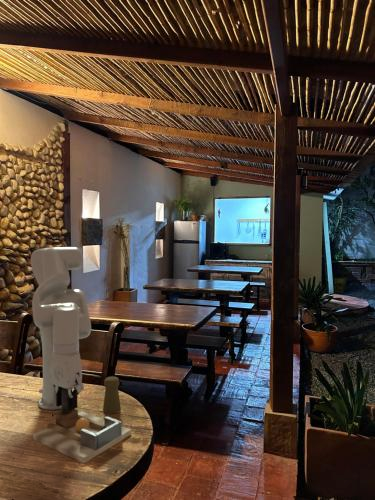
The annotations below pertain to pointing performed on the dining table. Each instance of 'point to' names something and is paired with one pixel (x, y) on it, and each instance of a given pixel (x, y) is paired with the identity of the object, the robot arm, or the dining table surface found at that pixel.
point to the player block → (66, 412)
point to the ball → (82, 424)
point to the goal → (102, 434)
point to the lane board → (75, 438)
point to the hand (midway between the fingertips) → (66, 406)
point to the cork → (111, 395)
